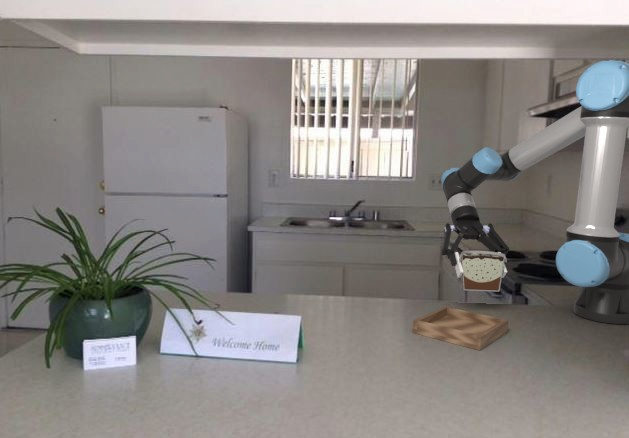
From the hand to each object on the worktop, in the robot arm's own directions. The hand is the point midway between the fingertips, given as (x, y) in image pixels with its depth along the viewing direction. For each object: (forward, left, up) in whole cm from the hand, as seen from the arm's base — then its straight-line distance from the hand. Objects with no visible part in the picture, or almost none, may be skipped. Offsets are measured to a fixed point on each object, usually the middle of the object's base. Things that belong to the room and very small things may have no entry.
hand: (482, 275), depth 133 cm
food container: (+2, -2, -4) cm, 5 cm away
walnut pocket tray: (-3, +18, -11) cm, 21 cm away
